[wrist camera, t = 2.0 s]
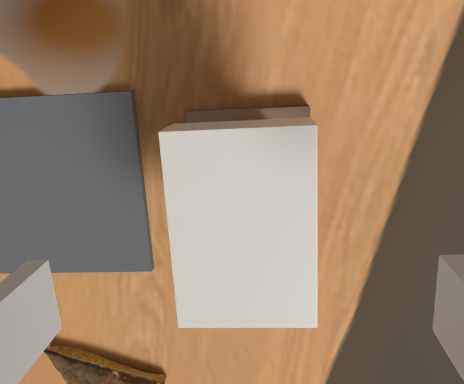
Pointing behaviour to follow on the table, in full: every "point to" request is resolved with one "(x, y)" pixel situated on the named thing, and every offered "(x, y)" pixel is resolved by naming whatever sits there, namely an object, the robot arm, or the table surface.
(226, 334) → the table surface
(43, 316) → the robot arm
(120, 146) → the rubber mat
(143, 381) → the shard
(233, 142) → the card box
